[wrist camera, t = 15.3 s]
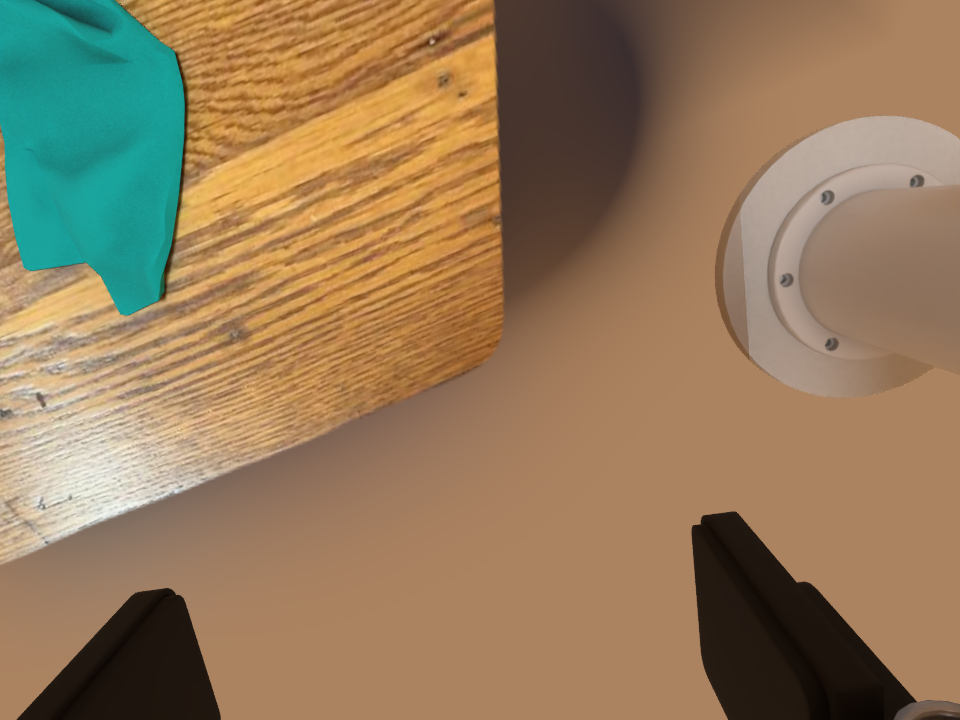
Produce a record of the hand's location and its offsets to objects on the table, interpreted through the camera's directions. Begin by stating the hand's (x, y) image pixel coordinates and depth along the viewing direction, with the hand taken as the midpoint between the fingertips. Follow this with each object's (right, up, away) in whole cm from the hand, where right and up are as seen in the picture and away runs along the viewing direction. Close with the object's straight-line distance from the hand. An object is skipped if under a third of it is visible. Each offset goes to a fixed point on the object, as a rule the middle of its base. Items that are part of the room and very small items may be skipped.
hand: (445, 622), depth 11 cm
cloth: (-23, +20, +24) cm, 39 cm away
